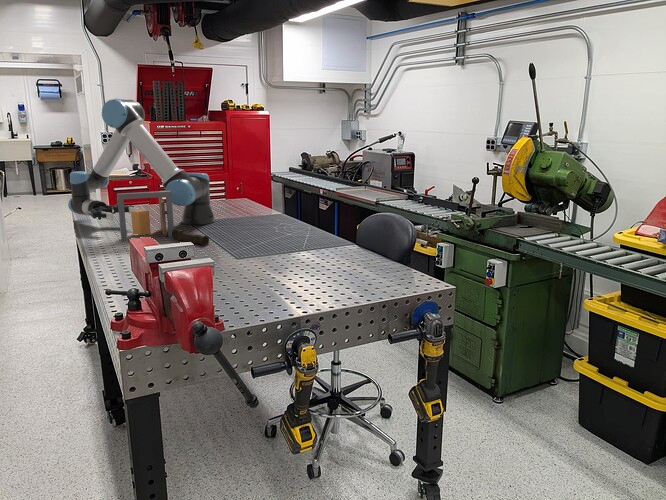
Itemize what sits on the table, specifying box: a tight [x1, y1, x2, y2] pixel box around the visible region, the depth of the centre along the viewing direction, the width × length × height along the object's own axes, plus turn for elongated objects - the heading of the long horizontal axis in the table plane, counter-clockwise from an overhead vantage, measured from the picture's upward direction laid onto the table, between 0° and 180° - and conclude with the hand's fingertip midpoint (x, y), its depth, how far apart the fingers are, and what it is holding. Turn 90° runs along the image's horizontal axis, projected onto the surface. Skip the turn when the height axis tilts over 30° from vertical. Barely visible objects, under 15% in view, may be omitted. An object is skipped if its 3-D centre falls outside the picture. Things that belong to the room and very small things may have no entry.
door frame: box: [116, 190, 175, 242], centre depth 203 cm, size 20×2×19 cm, turn 119°
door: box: [158, 197, 168, 236], centre depth 214 cm, size 14×3×14 cm, turn 23°
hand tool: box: [171, 228, 210, 247], centre depth 201 cm, size 19×4×5 cm, turn 57°
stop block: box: [130, 209, 151, 236], centre depth 211 cm, size 5×5×10 cm
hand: (126, 214), depth 215 cm, fingers open, 13 cm apart
